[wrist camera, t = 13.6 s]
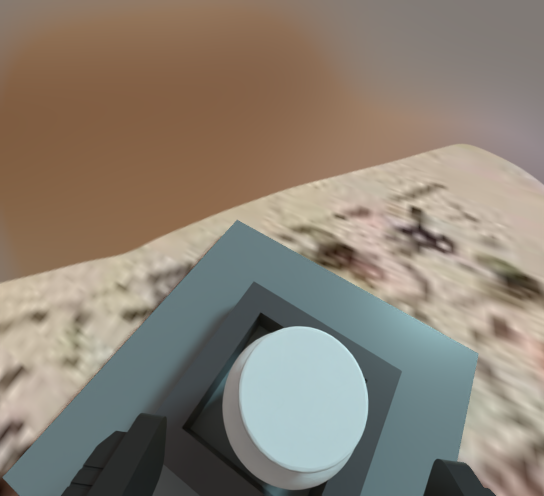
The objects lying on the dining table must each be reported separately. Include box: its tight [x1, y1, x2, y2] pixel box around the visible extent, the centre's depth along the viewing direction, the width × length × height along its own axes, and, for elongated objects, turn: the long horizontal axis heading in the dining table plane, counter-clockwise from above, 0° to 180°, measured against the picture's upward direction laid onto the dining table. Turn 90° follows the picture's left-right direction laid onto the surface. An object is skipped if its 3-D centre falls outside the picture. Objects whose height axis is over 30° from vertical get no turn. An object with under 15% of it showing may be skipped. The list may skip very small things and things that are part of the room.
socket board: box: [2, 220, 478, 496], centre depth 16 cm, size 20×20×4 cm
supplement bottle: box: [222, 326, 368, 490], centre depth 13 cm, size 5×5×10 cm
